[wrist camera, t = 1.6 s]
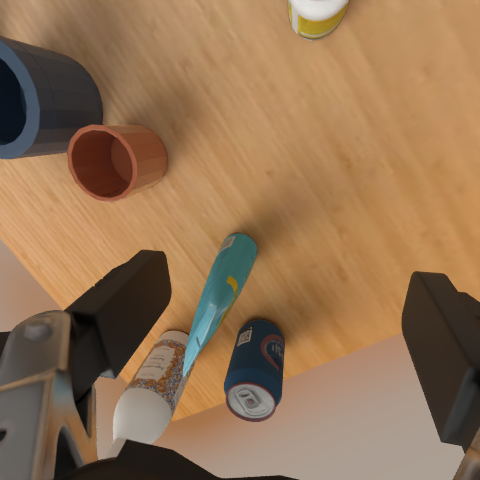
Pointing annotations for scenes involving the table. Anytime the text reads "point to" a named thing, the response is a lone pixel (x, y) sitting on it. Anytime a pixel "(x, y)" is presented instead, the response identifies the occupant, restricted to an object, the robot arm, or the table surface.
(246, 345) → the soda can
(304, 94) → the table surface
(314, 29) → the supplement bottle
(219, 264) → the tube
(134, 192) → the crock
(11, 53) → the jar
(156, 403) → the bath foam
